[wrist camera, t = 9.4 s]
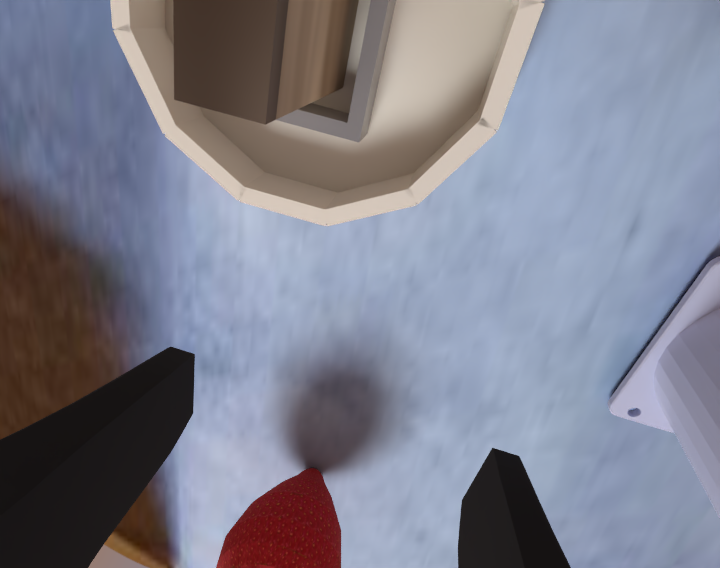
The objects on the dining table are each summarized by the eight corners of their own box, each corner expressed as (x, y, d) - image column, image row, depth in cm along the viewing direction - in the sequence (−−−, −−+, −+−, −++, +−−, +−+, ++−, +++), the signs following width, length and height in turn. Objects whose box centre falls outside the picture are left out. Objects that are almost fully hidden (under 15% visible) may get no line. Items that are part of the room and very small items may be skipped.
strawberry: (249, 483, 28) (158, 679, 20) (285, 411, 24) (190, 616, 16) (333, 521, 29) (278, 731, 20) (382, 456, 25) (339, 682, 16)
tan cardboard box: (369, -58, 13) (290, -133, 7) (343, 87, 15) (265, 124, 9) (304, -74, 13) (171, -161, 7) (287, 72, 15) (174, 99, 9)
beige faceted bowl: (605, -200, 11) (639, -254, 9) (451, 233, 17) (450, 261, 15) (151, -297, 12) (84, -369, 10) (162, 152, 18) (122, 168, 16)
